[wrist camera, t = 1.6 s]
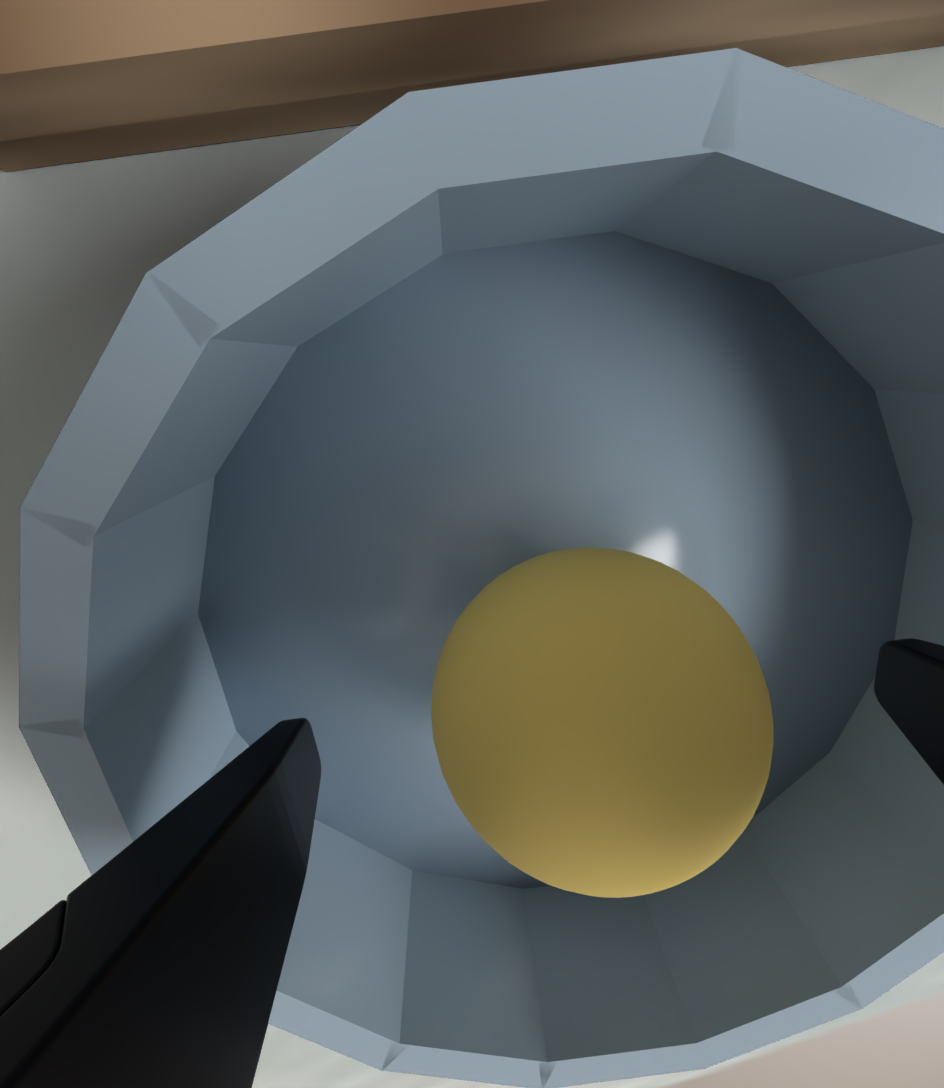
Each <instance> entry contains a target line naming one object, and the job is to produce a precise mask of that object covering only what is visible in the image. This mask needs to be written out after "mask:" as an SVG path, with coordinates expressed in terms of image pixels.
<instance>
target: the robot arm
mask: <svg viewBox="0 0 944 1088" xmlns="http://www.w3.org/2000/svg"><path fill="white" fill-rule="evenodd" d="M874 692H875V696H876V698H877V700H878V702H879V703H880V705H881V706H882V707H883V709H884V710H885V711H886V712H887V714H888V715H889V716H890V718H891V719H892V720H893V721H894V723H895V724H896V725H897V726H898V728H899V729H900V730H901V732H902V733H903V734H904V735H905V737H906V738H907V739H908V740H909V742H910V743H911V744H912V746H913V747H914V748H915V749H916V751H917V752H918V753H919V754H920V756H921V757H922V758H923V760H924V761H925V762H926V763H927V765H928V766H929V767H930V768H931V770H932V771H933V772H934V774H935V775H936V776H937V777H938V778H939V780H940V781H941V782H942V783H943V785H944V646H943V645H939V644H935V643H931V642H927V641H923V640H919V639H915V638H906V639H899V640H892V641H886V642H885V643H883V644H882V645H881V647H880V648H879V652H878V659H877V666H876V673H875V680H874ZM320 780H321V760H320V756H319V752H318V749H317V745H316V741H315V738H314V734H313V730H312V727H311V724H310V722H309V720H307V719H306V718H296V719H289V720H282V721H280V722H278V723H277V724H276V725H275V726H273V727H272V728H271V729H270V730H269V731H267V732H266V733H265V734H264V735H262V736H261V737H260V738H259V739H258V740H256V741H255V742H254V743H253V744H251V745H250V746H249V747H248V748H247V749H245V750H244V751H243V752H242V753H241V754H239V755H238V756H237V757H236V758H234V759H233V760H232V761H231V762H230V763H228V764H227V765H226V766H225V767H223V768H222V769H221V770H220V771H219V772H217V773H216V774H215V775H214V776H212V777H211V778H210V779H209V780H208V781H206V782H205V783H204V784H203V785H202V786H200V787H199V788H198V789H197V790H195V791H194V792H193V793H192V794H191V795H189V796H188V797H187V798H186V799H184V800H183V801H182V802H181V803H180V804H178V805H177V806H176V807H175V808H173V809H172V810H171V811H170V812H169V813H167V814H166V815H165V816H164V817H162V818H161V819H160V820H159V821H158V822H156V823H155V824H154V825H153V826H152V827H150V828H149V829H148V830H147V831H145V832H144V833H143V834H142V835H141V836H139V837H138V838H137V839H136V840H134V841H133V842H132V843H131V844H130V845H128V846H127V847H126V848H125V849H123V850H122V851H121V852H120V853H119V854H117V855H116V856H115V857H114V858H112V859H111V860H110V861H109V862H108V863H106V864H105V865H104V866H103V867H101V868H100V869H99V870H98V871H97V872H95V873H94V874H93V875H92V876H90V877H89V878H88V879H87V880H86V881H84V882H83V883H82V884H81V885H80V886H78V887H77V888H76V889H75V890H73V891H72V892H71V893H70V894H69V895H68V896H67V900H66V901H65V900H62V901H60V902H59V903H57V904H56V905H55V906H54V907H53V908H51V909H50V910H49V911H48V912H46V913H45V914H44V915H43V916H42V917H40V918H39V919H38V920H37V921H36V922H34V923H33V924H32V925H31V926H29V927H28V928H27V929H26V930H24V931H23V932H22V933H21V934H19V935H18V936H17V937H16V938H14V939H13V940H12V941H11V942H9V943H8V944H7V945H6V946H4V947H3V948H2V949H1V950H0V1088H252V1084H253V1080H254V1076H255V1073H256V1069H257V1065H258V1061H259V1057H260V1053H261V1049H262V1045H263V1041H264V1038H265V1034H266V1030H267V1026H268V1022H269V1018H270V1014H271V1010H272V1006H273V1003H274V999H275V995H276V991H277V987H278V983H279V979H280V975H281V972H282V968H283V964H284V960H285V956H286V952H287V948H288V944H289V940H290V937H291V933H292V929H293V925H294V921H295V917H296V913H297V909H298V905H299V902H300V898H301V894H302V890H303V885H304V881H305V877H306V872H307V866H308V861H309V854H310V848H311V841H312V834H313V827H314V820H315V814H316V807H317V800H318V793H319V786H320Z"/></svg>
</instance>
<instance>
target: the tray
mask: <svg viewBox="0 0 944 1088" xmlns="http://www.w3.org/2000/svg"><path fill="white" fill-rule="evenodd" d="M939 46H944V0H0V169H1V170H3V171H6V172H8V171H15V170H23V169H30V168H38V167H45V166H53V165H60V164H68V163H75V162H82V161H90V160H97V159H105V158H112V157H120V156H127V155H135V154H142V153H150V152H157V151H164V150H172V149H179V148H187V147H194V146H202V145H209V144H217V143H224V142H231V141H239V140H246V139H254V138H261V137H269V136H276V135H284V134H291V133H299V132H306V131H313V130H321V129H328V128H336V127H343V126H351V125H358V124H363V123H364V122H366V121H367V120H369V119H370V118H372V117H373V116H375V115H376V114H377V113H379V112H380V111H382V110H383V109H385V108H386V107H388V106H389V105H391V104H392V103H393V102H395V101H396V100H398V99H399V98H401V97H402V96H404V95H405V94H406V93H407V92H412V91H419V90H427V89H434V88H442V87H449V86H457V85H464V84H471V83H479V82H486V81H494V80H501V79H509V78H516V77H524V76H531V75H538V74H546V73H553V72H561V71H568V70H576V69H583V68H591V67H598V66H605V65H613V64H620V63H628V62H635V61H643V60H650V59H657V58H665V57H672V56H680V55H687V54H695V53H702V52H710V51H717V50H724V49H732V48H738V49H740V50H743V51H746V52H748V53H751V54H753V55H756V56H758V57H761V58H763V59H766V60H769V61H771V62H774V63H776V64H779V65H781V66H784V67H790V66H798V65H805V64H813V63H820V62H827V61H835V60H842V59H850V58H857V57H865V56H872V55H880V54H887V53H894V52H902V51H909V50H917V49H924V48H932V47H939Z"/></svg>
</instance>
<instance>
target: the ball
mask: <svg viewBox="0 0 944 1088" xmlns="http://www.w3.org/2000/svg"><path fill="white" fill-rule="evenodd" d="M431 719H432V731H433V741H434V745H435V749H436V752H437V756H438V760H439V764H440V768H441V771H442V774H443V776H444V779H445V781H446V783H447V785H448V788H449V790H450V792H451V794H452V796H453V798H454V800H455V802H456V804H457V805H458V807H459V808H460V810H461V812H462V813H463V815H464V816H465V818H466V819H467V820H468V822H469V823H470V824H471V826H472V827H473V828H474V830H475V831H476V832H477V833H478V834H479V835H480V836H481V838H482V839H483V840H484V841H485V842H486V843H487V844H488V845H489V846H491V847H492V848H493V849H494V850H495V851H496V852H497V853H498V854H500V855H501V856H502V857H503V858H504V859H505V860H507V861H508V862H509V863H510V864H512V865H514V866H515V867H517V868H518V869H520V870H521V871H523V872H525V873H527V874H528V875H530V876H532V877H534V878H536V879H538V880H540V881H542V882H544V883H546V884H548V885H551V886H554V887H557V888H559V889H562V890H566V891H570V892H575V893H579V894H584V895H589V896H596V897H606V898H622V897H634V896H640V895H646V894H651V893H654V892H658V891H662V890H665V889H668V888H670V887H673V886H676V885H678V884H680V883H682V882H684V881H686V880H688V879H691V878H693V877H694V876H696V875H697V874H699V873H701V872H702V871H704V870H705V869H707V868H708V867H709V866H711V865H712V864H713V863H715V862H716V861H717V860H718V859H719V858H720V857H721V856H722V855H723V854H724V853H726V852H727V851H728V849H729V848H730V847H731V846H732V845H733V843H734V842H735V841H736V840H737V839H738V837H739V836H740V835H741V834H742V833H743V831H744V830H745V828H746V827H747V825H748V824H749V822H750V821H751V819H752V818H753V815H754V813H755V811H756V809H757V807H758V805H759V803H760V800H761V797H762V795H763V792H764V790H765V786H766V783H767V780H768V777H769V773H770V766H771V760H772V751H773V717H772V709H771V703H770V697H769V691H768V688H767V685H766V682H765V679H764V676H763V674H762V671H761V668H760V665H759V662H758V659H757V657H756V655H755V654H754V652H753V650H752V648H751V646H750V644H749V643H748V641H747V639H746V637H745V636H744V634H743V632H742V631H741V629H740V628H739V626H738V625H737V624H736V622H735V621H734V620H733V619H732V617H731V616H730V615H729V613H728V612H727V611H726V610H725V609H724V608H723V607H722V606H721V605H720V603H719V602H718V601H716V600H715V599H714V598H713V597H712V596H711V595H710V594H709V593H708V592H707V591H706V590H705V589H703V588H702V587H700V586H699V585H698V584H696V583H695V582H693V581H692V580H691V579H689V578H688V577H686V576H685V575H683V574H682V573H680V572H679V571H677V570H675V569H673V568H671V567H669V566H667V565H665V564H663V563H661V562H658V561H656V560H653V559H651V558H648V557H645V556H642V555H639V554H636V553H633V552H627V551H622V550H617V549H608V548H589V547H586V548H571V549H564V550H559V551H554V552H549V553H546V554H543V555H540V556H537V557H534V558H531V559H529V560H526V561H524V562H522V563H520V564H518V565H516V566H514V567H512V568H511V569H509V570H507V571H506V572H504V573H502V574H501V575H499V576H498V577H497V578H495V579H494V580H493V581H492V582H490V583H489V584H488V585H487V586H485V587H484V588H483V589H482V590H481V591H480V592H479V594H478V595H477V596H476V597H475V598H474V599H473V600H472V601H471V602H470V603H469V604H468V605H467V606H466V608H465V609H464V611H463V612H462V613H461V615H460V616H459V617H458V619H457V620H456V622H455V624H454V626H453V628H452V629H451V631H450V633H449V635H448V637H447V639H446V641H445V644H444V646H443V649H442V652H441V654H440V657H439V660H438V663H437V668H436V672H435V677H434V682H433V688H432V700H431Z"/></svg>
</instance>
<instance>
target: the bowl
mask: <svg viewBox="0 0 944 1088" xmlns="http://www.w3.org/2000/svg"><path fill="white" fill-rule="evenodd" d="M586 547H589V548H608V549H617V550H622V551H627V552H633V553H636V554H639V555H642V556H645V557H648V558H651V559H653V560H656V561H658V562H661V563H663V564H665V565H667V566H669V567H671V568H673V569H675V570H677V571H679V572H680V573H682V574H683V575H685V576H686V577H688V578H689V579H691V580H692V581H693V582H695V583H696V584H698V585H699V586H700V587H702V588H703V589H705V590H706V591H707V592H708V593H709V594H710V595H711V596H712V597H713V598H714V599H715V600H716V601H718V602H719V603H720V605H721V606H722V607H723V608H724V609H725V610H726V611H727V612H728V613H729V615H730V616H731V617H732V619H733V620H734V621H735V622H736V624H737V625H738V626H739V628H740V629H741V631H742V632H743V634H744V636H745V637H746V639H747V641H748V643H749V644H750V646H751V648H752V650H753V652H754V654H755V655H756V657H757V659H758V662H759V665H760V668H761V671H762V674H763V676H764V679H765V682H766V685H767V688H768V691H769V697H770V703H771V709H772V717H773V751H772V760H771V766H770V773H769V777H768V780H767V783H766V786H765V790H764V792H763V795H762V797H761V800H760V803H759V805H758V807H757V809H756V811H755V813H754V815H753V818H752V819H751V821H750V822H749V824H748V825H747V827H746V828H745V830H744V831H743V833H742V834H741V835H740V836H739V837H738V839H737V840H736V841H735V842H734V843H733V845H732V846H731V847H730V848H729V849H728V851H727V852H726V853H724V854H723V855H722V856H721V857H720V858H719V859H718V860H717V861H716V862H715V863H713V864H712V865H711V866H709V867H708V868H707V869H705V870H704V871H702V872H701V873H699V874H697V875H696V876H694V877H693V878H691V879H688V880H686V881H684V882H682V883H680V884H678V885H676V886H673V887H670V888H668V889H665V890H662V891H658V892H654V893H651V894H646V895H640V896H634V897H622V898H606V897H596V896H589V895H584V894H579V893H575V892H570V891H566V890H562V889H559V888H557V887H554V886H551V885H548V884H546V883H544V882H542V881H540V880H538V879H536V878H534V877H532V876H530V875H528V874H527V873H525V872H523V871H521V870H520V869H518V868H517V867H515V866H514V865H512V864H510V863H509V862H508V861H507V860H505V859H504V858H503V857H502V856H501V855H500V854H498V853H497V852H496V851H495V850H494V849H493V848H492V847H491V846H489V845H488V844H487V843H486V842H485V841H484V840H483V839H482V838H481V836H480V835H479V834H478V833H477V832H476V831H475V830H474V828H473V827H472V826H471V824H470V823H469V822H468V820H467V819H466V818H465V816H464V815H463V813H462V812H461V810H460V808H459V807H458V805H457V804H456V802H455V800H454V798H453V796H452V794H451V792H450V790H449V788H448V785H447V783H446V781H445V779H444V776H443V774H442V771H441V768H440V764H439V760H438V756H437V752H436V749H435V745H434V741H433V731H432V719H431V700H432V688H433V682H434V677H435V672H436V668H437V663H438V660H439V657H440V654H441V652H442V649H443V646H444V644H445V641H446V639H447V637H448V635H449V633H450V631H451V629H452V628H453V626H454V624H455V622H456V620H457V619H458V617H459V616H460V615H461V613H462V612H463V611H464V609H465V608H466V606H467V605H468V604H469V603H470V602H471V601H472V600H473V599H474V598H475V597H476V596H477V595H478V594H479V592H480V591H481V590H482V589H483V588H484V587H485V586H487V585H488V584H489V583H490V582H492V581H493V580H494V579H495V578H497V577H498V576H499V575H501V574H502V573H504V572H506V571H507V570H509V569H511V568H512V567H514V566H516V565H518V564H520V563H522V562H524V561H526V560H529V559H531V558H534V557H537V556H540V555H543V554H546V553H549V552H554V551H559V550H564V549H571V548H586ZM906 638H915V639H919V640H923V641H927V642H931V643H935V644H939V645H943V646H944V129H943V128H940V127H938V126H935V125H933V124H930V123H928V122H925V121H922V120H920V119H917V118H915V117H912V116H910V115H907V114H904V113H902V112H899V111H897V110H894V109H892V108H889V107H887V106H884V105H881V104H879V103H876V102H874V101H871V100H869V99H866V98H863V97H861V96H858V95H856V94H853V93H851V92H848V91H846V90H843V89H840V88H838V87H835V86H833V85H830V84H828V83H825V82H822V81H820V80H817V79H815V78H812V77H810V76H807V75H804V74H802V73H799V72H797V71H794V70H792V69H789V68H787V67H784V66H781V65H779V64H776V63H774V62H771V61H769V60H766V59H763V58H761V57H758V56H756V55H753V54H751V53H748V52H746V51H743V50H740V49H738V48H732V49H724V50H717V51H710V52H702V53H695V54H687V55H680V56H672V57H665V58H657V59H650V60H643V61H635V62H628V63H620V64H613V65H605V66H598V67H591V68H583V69H576V70H568V71H561V72H553V73H546V74H538V75H531V76H524V77H516V78H509V79H501V80H494V81H486V82H479V83H471V84H464V85H457V86H449V87H442V88H434V89H427V90H419V91H412V92H407V93H406V94H405V95H404V96H402V97H401V98H399V99H398V100H396V101H395V102H393V103H392V104H391V105H389V106H388V107H386V108H385V109H383V110H382V111H380V112H379V113H377V114H376V115H375V116H373V117H372V118H370V119H369V120H367V121H366V122H364V123H363V124H361V125H360V126H359V127H357V128H356V129H354V130H353V131H351V132H350V133H348V134H347V135H346V136H344V137H343V138H341V139H340V140H338V141H337V142H335V143H334V144H332V145H331V146H330V147H328V148H327V149H325V150H324V151H322V152H321V153H319V154H318V155H317V156H315V157H314V158H312V159H311V160H309V161H308V162H306V163H305V164H303V165H302V166H301V167H299V168H298V169H296V170H295V171H293V172H292V173H290V174H289V175H288V176H286V177H285V178H283V179H282V180H280V181H279V182H277V183H276V184H274V185H273V186H272V187H270V188H269V189H267V190H266V191H264V192H263V193H261V194H260V195H259V196H257V197H256V198H254V199H253V200H251V201H250V202H248V203H247V204H245V205H244V206H243V207H241V208H240V209H238V210H237V211H235V212H234V213H232V214H231V215H230V216H228V217H227V218H225V219H224V220H222V221H221V222H219V223H218V224H216V225H215V226H214V227H212V228H211V229H209V230H208V231H206V232H205V233H203V234H202V235H200V236H199V237H198V238H196V239H195V240H193V241H192V242H190V243H189V244H187V245H186V246H185V247H183V248H182V249H180V250H179V251H177V252H176V253H174V254H173V255H171V256H170V257H169V258H167V259H166V260H164V261H163V262H161V263H160V264H158V265H157V266H156V267H154V268H153V269H151V270H150V271H147V272H146V274H145V276H144V278H143V280H142V282H141V283H140V285H139V287H138V289H137V291H136V293H135V295H134V296H133V298H132V300H131V302H130V304H129V306H128V308H127V309H126V311H125V313H124V315H123V317H122V319H121V321H120V323H119V324H118V326H117V328H116V330H115V332H114V334H113V336H112V337H111V339H110V341H109V343H108V345H107V347H106V349H105V350H104V352H103V354H102V356H101V358H100V360H99V362H98V363H97V365H96V367H95V369H94V371H93V373H92V375H91V376H90V378H89V380H88V382H87V384H86V386H85V388H84V389H83V391H82V393H81V395H80V397H79V399H78V401H77V403H76V404H75V406H74V408H73V410H72V412H71V414H70V416H69V417H68V419H67V421H66V423H65V425H64V427H63V429H62V430H61V432H60V434H59V436H58V438H57V440H56V442H55V443H54V445H53V447H52V449H51V451H50V453H49V455H48V456H47V458H46V460H45V462H44V464H43V466H42V468H41V469H40V471H39V473H38V475H37V477H36V479H35V481H34V483H33V484H32V486H31V488H30V490H29V492H28V494H27V496H26V497H25V499H24V501H23V503H22V505H21V507H20V647H19V728H20V730H21V732H22V734H23V736H24V738H25V740H26V742H27V744H28V746H29V748H30V750H31V752H32V755H33V757H34V759H35V761H36V763H37V765H38V767H39V769H40V771H41V773H42V775H43V777H44V779H45V781H46V783H47V785H48V787H49V789H50V791H51V793H52V795H53V797H54V799H55V801H56V803H57V806H58V808H59V810H60V812H61V814H62V816H63V818H64V820H65V822H66V824H67V826H68V828H69V830H70V832H71V834H72V836H73V838H74V840H75V842H76V844H77V846H78V848H79V850H80V852H81V854H82V857H83V859H84V861H85V863H86V865H87V867H88V869H89V871H90V873H91V875H93V874H94V873H95V872H97V871H98V870H99V869H100V868H101V867H103V866H104V865H105V864H106V863H108V862H109V861H110V860H111V859H112V858H114V857H115V856H116V855H117V854H119V853H120V852H121V851H122V850H123V849H125V848H126V847H127V846H128V845H130V844H131V843H132V842H133V841H134V840H136V839H137V838H138V837H139V836H141V835H142V834H143V833H144V832H145V831H147V830H148V829H149V828H150V827H152V826H153V825H154V824H155V823H156V822H158V821H159V820H160V819H161V818H162V817H164V816H165V815H166V814H167V813H169V812H170V811H171V810H172V809H173V808H175V807H176V806H177V805H178V804H180V803H181V802H182V801H183V800H184V799H186V798H187V797H188V796H189V795H191V794H192V793H193V792H194V791H195V790H197V789H198V788H199V787H200V786H202V785H203V784H204V783H205V782H206V781H208V780H209V779H210V778H211V777H212V776H214V775H215V774H216V773H217V772H219V771H220V770H221V769H222V768H223V767H225V766H226V765H227V764H228V763H230V762H231V761H232V760H233V759H234V758H236V757H237V756H238V755H239V754H241V753H242V752H243V751H244V750H245V749H247V748H248V747H249V746H250V745H251V744H253V743H254V742H255V741H256V740H258V739H259V738H260V737H261V736H262V735H264V734H265V733H266V732H267V731H269V730H270V729H271V728H272V727H273V726H275V725H276V724H277V723H278V722H280V721H282V720H289V719H296V718H306V719H307V720H309V722H310V724H311V727H312V730H313V734H314V738H315V741H316V745H317V749H318V752H319V756H320V760H321V780H320V786H319V793H318V800H317V807H316V814H315V820H314V827H313V834H312V841H311V848H310V854H309V861H308V866H307V872H306V877H305V881H304V885H303V890H302V894H301V898H300V902H299V905H298V909H297V913H296V917H295V921H294V925H293V929H292V933H291V937H290V940H289V944H288V948H287V952H286V956H285V960H284V964H283V968H282V972H281V975H280V979H279V983H278V987H277V991H276V995H275V999H274V1003H273V1006H272V1010H271V1014H270V1018H269V1022H268V1024H270V1025H273V1026H275V1027H278V1028H280V1029H282V1030H285V1031H287V1032H290V1033H292V1034H295V1035H297V1036H299V1037H302V1038H304V1039H307V1040H309V1041H311V1042H314V1043H316V1044H319V1045H321V1046H324V1047H326V1048H328V1049H331V1050H333V1051H336V1052H338V1053H340V1054H343V1055H345V1056H348V1057H350V1058H353V1059H355V1060H357V1061H360V1062H362V1063H365V1064H367V1065H369V1066H372V1067H374V1068H377V1069H379V1070H383V1071H391V1072H400V1073H408V1074H416V1075H425V1076H433V1077H442V1078H450V1079H459V1080H467V1081H475V1082H484V1083H492V1084H501V1085H509V1086H518V1087H526V1088H558V1087H566V1086H574V1085H582V1084H590V1083H597V1082H605V1081H613V1080H621V1079H629V1078H636V1077H644V1076H652V1075H660V1074H668V1073H675V1072H683V1071H691V1070H699V1069H705V1068H708V1067H710V1066H713V1065H716V1064H718V1063H721V1062H724V1061H726V1060H729V1059H731V1058H734V1057H737V1056H739V1055H742V1054H745V1053H747V1052H750V1051H753V1050H755V1049H758V1048H760V1047H763V1046H766V1045H768V1044H771V1043H774V1042H776V1041H779V1040H781V1039H784V1038H787V1037H789V1036H792V1035H795V1034H797V1033H800V1032H802V1031H805V1030H808V1029H810V1028H813V1027H816V1026H818V1025H821V1024H823V1023H826V1022H829V1021H831V1020H834V1019H837V1018H839V1017H842V1016H844V1015H847V1014H850V1013H852V1012H855V1011H858V1010H860V1009H863V1008H864V1007H866V1006H867V1005H869V1004H870V1003H871V1002H873V1001H874V1000H876V999H877V998H879V997H880V996H881V995H883V994H884V993H886V992H887V991H889V990H890V989H891V988H893V987H894V986H896V985H897V984H899V983H900V982H901V981H903V980H904V979H906V978H907V977H909V976H910V975H911V974H913V973H914V972H916V971H917V970H919V969H920V968H921V967H923V966H924V965H926V964H927V963H929V962H930V961H931V960H933V959H934V958H936V957H937V956H939V955H940V954H941V953H943V952H944V785H943V783H942V782H941V781H940V780H939V778H938V777H937V776H936V775H935V774H934V772H933V771H932V770H931V768H930V767H929V766H928V765H927V763H926V762H925V761H924V760H923V758H922V757H921V756H920V754H919V753H918V752H917V751H916V749H915V748H914V747H913V746H912V744H911V743H910V742H909V740H908V739H907V738H906V737H905V735H904V734H903V733H902V732H901V730H900V729H899V728H898V726H897V725H896V724H895V723H894V721H893V720H892V719H891V718H890V716H889V715H888V714H887V712H886V711H885V710H884V709H883V707H882V706H881V705H880V703H879V702H878V700H877V698H876V696H875V692H874V680H875V673H876V666H877V659H878V652H879V648H880V647H881V645H882V644H883V643H885V642H886V641H892V640H899V639H906Z"/></svg>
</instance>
